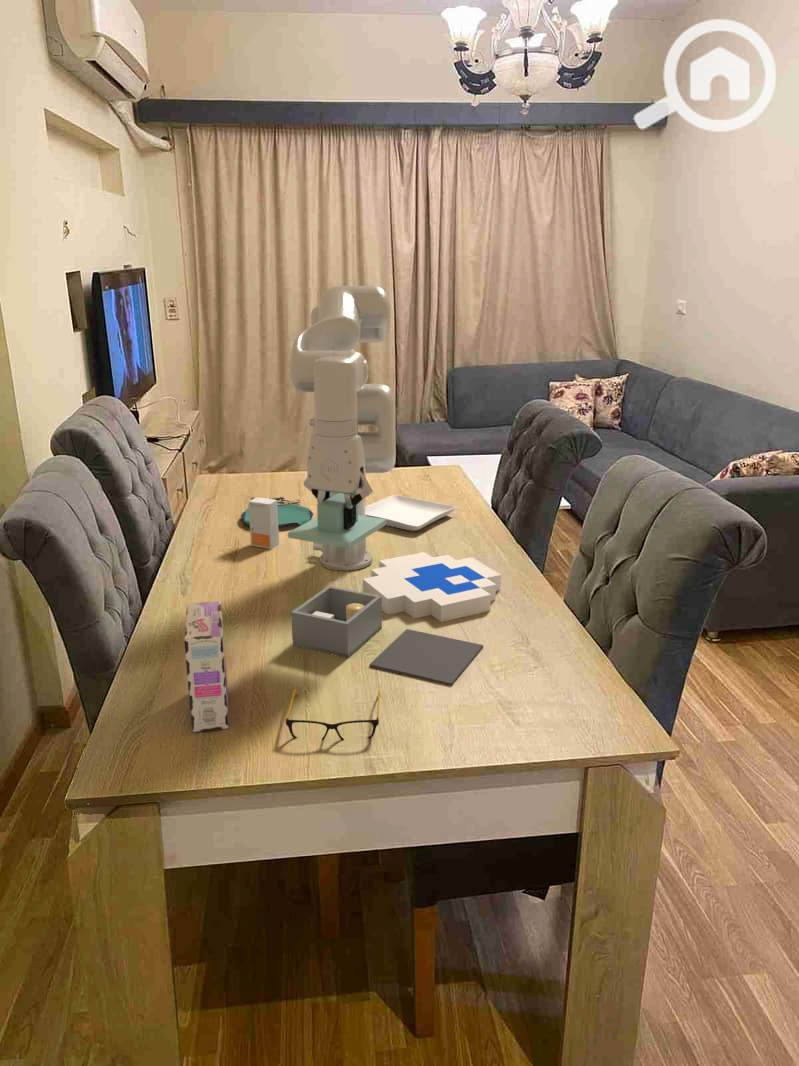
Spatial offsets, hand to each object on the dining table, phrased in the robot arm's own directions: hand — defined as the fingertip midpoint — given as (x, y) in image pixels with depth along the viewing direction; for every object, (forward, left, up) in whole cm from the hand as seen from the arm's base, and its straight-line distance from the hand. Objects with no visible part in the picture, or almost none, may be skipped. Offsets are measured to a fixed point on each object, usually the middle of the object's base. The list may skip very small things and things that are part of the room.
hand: (338, 524), depth 152 cm
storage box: (-1, 0, -23) cm, 23 cm away
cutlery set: (-54, +60, -24) cm, 84 cm away
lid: (0, 0, -1) cm, 1 cm away
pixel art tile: (+7, +28, -24) cm, 38 cm away
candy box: (-7, -32, -23) cm, 40 cm away
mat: (+18, 0, -23) cm, 30 cm away
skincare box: (-43, +37, -23) cm, 61 cm away
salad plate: (-20, +72, -24) cm, 78 cm away
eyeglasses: (+13, -25, -24) cm, 37 cm away
